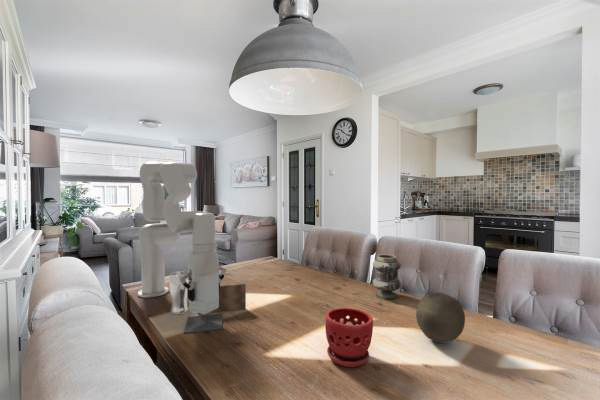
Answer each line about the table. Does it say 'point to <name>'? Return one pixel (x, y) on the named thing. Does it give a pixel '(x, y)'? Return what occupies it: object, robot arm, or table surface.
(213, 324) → the mat
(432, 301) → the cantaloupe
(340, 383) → the table surface
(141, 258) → the robot arm
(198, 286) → the supplement box
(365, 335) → the plant pot
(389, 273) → the apothecary jar
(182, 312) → the metal tumbler
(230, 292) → the wood grain panel
